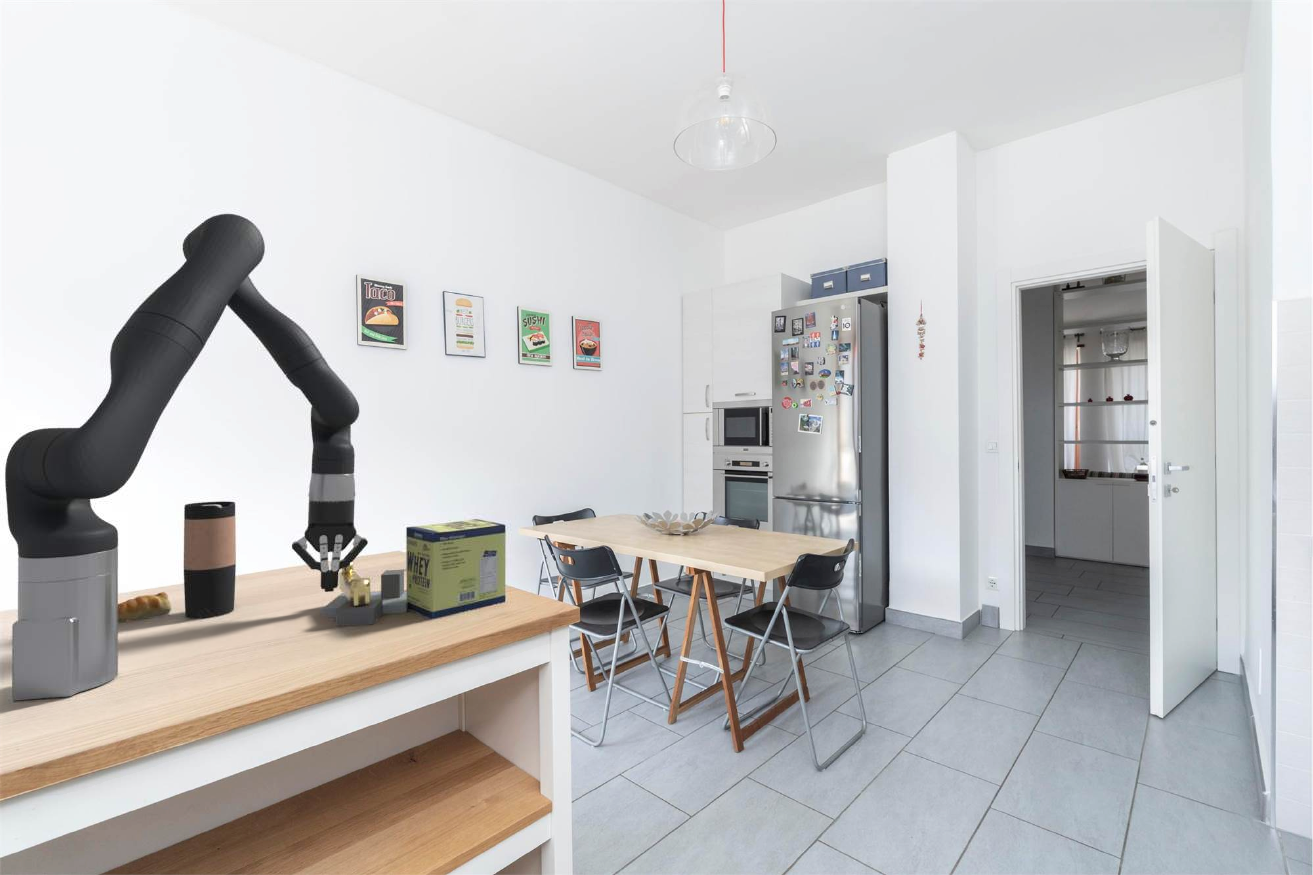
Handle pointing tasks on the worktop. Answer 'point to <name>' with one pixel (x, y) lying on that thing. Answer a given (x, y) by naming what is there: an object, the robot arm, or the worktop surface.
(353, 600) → the bar
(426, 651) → the worktop surface
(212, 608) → the travel mug
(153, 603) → the pastry
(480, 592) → the protein box
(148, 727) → the worktop surface
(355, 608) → the plate
